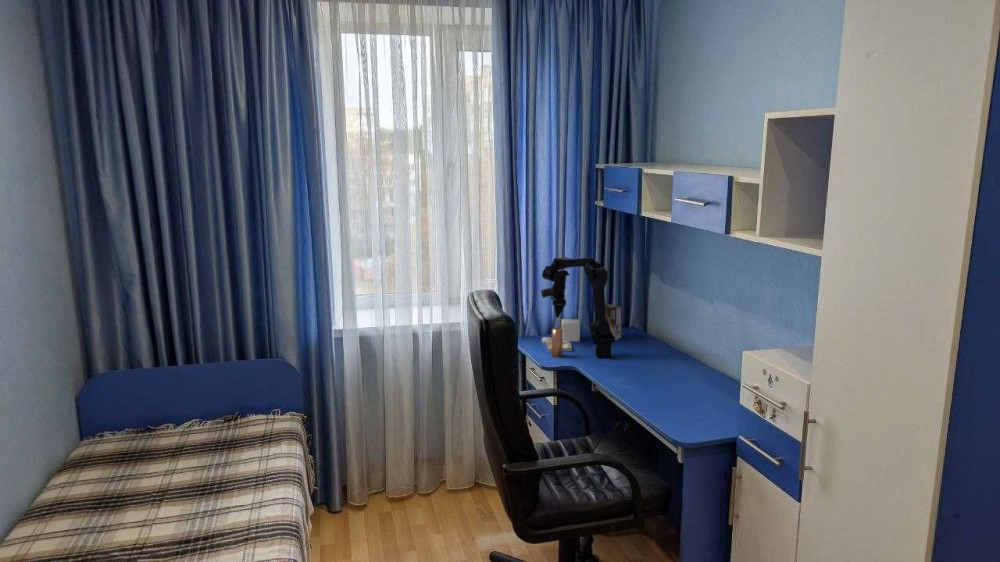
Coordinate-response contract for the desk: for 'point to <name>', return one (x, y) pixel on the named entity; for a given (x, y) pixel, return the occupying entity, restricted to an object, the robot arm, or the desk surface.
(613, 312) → the coffee box
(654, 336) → the desk surface
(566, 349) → the tray
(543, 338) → the flattened gray dome
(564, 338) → the block
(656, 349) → the desk surface
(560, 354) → the copper cylinder
